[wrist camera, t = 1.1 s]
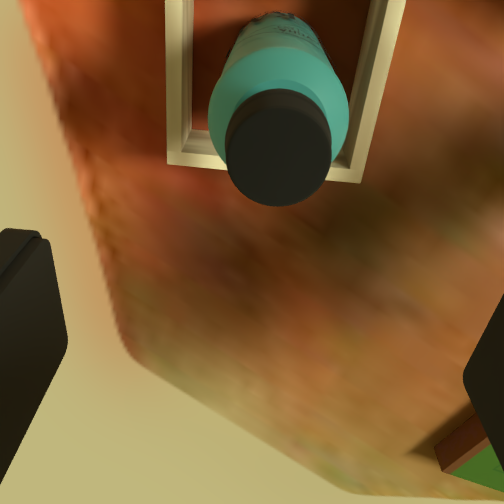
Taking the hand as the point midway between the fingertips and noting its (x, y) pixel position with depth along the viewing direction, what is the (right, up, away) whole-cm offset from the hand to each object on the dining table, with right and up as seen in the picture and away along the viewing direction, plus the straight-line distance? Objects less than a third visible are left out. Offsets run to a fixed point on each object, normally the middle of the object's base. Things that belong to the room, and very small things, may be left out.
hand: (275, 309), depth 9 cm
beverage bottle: (+1, +15, +23) cm, 28 cm away
